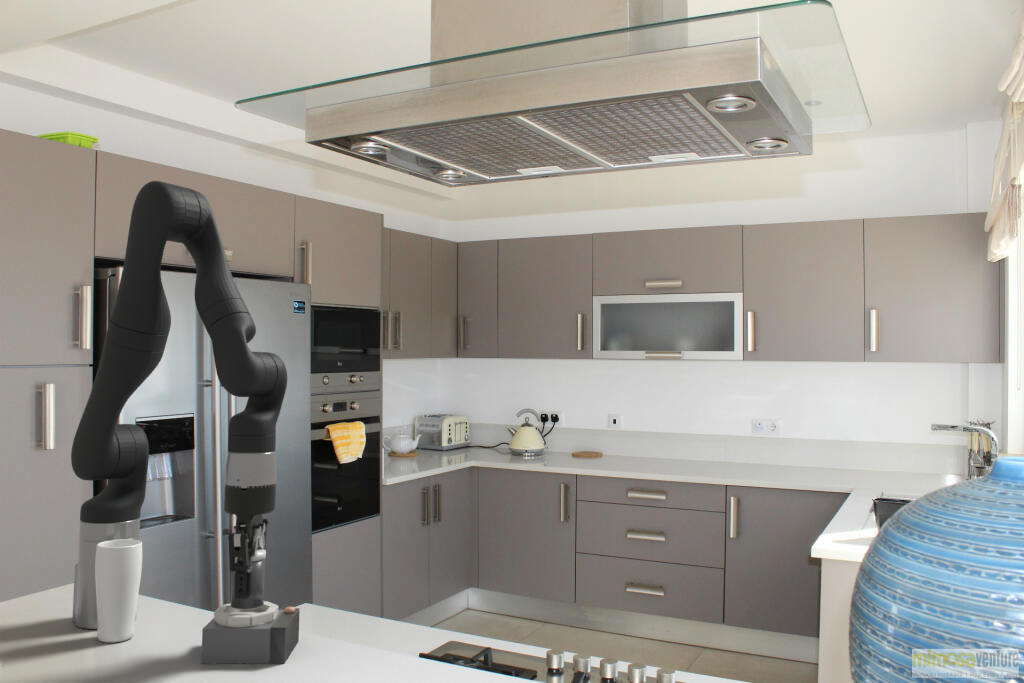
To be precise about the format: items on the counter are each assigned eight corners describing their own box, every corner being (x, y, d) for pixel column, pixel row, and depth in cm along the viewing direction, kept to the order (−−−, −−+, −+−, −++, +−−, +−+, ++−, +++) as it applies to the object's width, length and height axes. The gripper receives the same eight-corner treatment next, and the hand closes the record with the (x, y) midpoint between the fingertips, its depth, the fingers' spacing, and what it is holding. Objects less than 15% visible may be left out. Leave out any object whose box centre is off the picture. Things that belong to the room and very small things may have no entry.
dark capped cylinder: (222, 606, 123) (224, 552, 123) (247, 598, 127) (248, 547, 128) (247, 610, 121) (249, 556, 121) (271, 602, 125) (272, 550, 126)
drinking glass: (120, 647, 125) (124, 548, 126) (81, 643, 126) (86, 546, 127) (148, 633, 131) (152, 540, 132) (111, 630, 133) (115, 537, 134)
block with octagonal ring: (201, 663, 119) (202, 618, 119) (221, 641, 128) (223, 599, 129) (284, 663, 119) (286, 618, 119) (298, 641, 129) (299, 600, 129)
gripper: (239, 475, 132) (235, 581, 131) (211, 486, 118) (207, 606, 117) (285, 475, 132) (282, 581, 131) (263, 487, 118) (260, 606, 117)
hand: (247, 592), depth 124 cm, fingers closed on dark capped cylinder, 4 cm apart
